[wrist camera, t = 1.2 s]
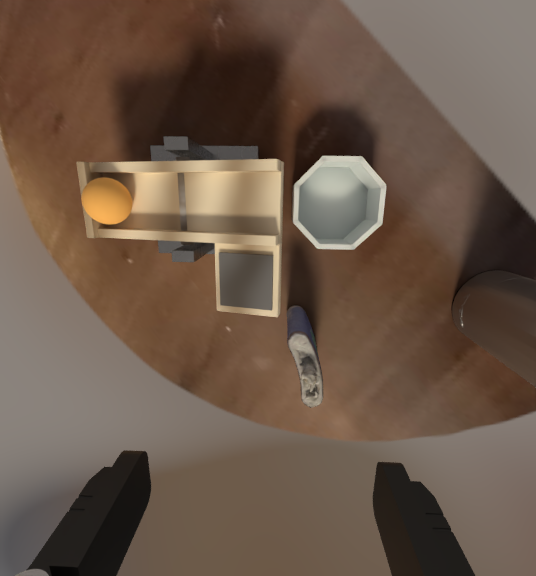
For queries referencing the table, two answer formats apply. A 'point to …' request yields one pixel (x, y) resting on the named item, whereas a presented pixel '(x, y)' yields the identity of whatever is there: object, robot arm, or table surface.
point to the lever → (207, 219)
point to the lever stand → (195, 152)
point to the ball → (107, 200)
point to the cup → (338, 202)
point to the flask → (305, 356)
